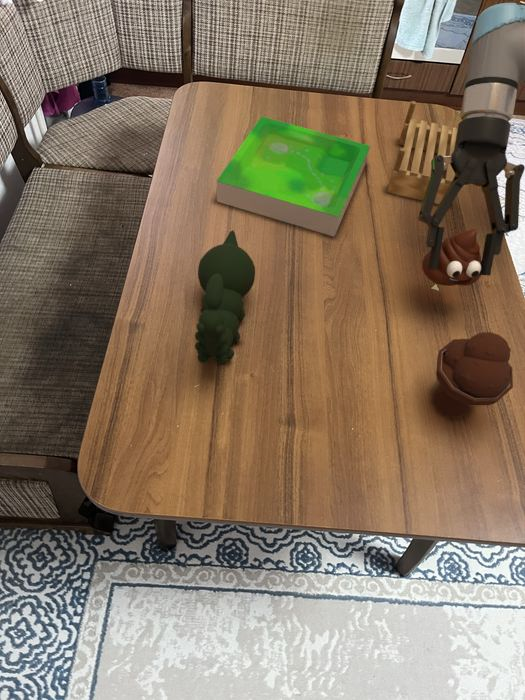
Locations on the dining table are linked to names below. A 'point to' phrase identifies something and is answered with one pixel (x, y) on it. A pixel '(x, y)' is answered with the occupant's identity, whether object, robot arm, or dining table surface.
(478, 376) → the ice cream bowl
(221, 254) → the toy figurine
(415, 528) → the dining table surface
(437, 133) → the brown wooden slatted frame
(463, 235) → the poop emoji
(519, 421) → the dining table surface
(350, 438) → the dining table surface
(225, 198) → the green terrain map board
